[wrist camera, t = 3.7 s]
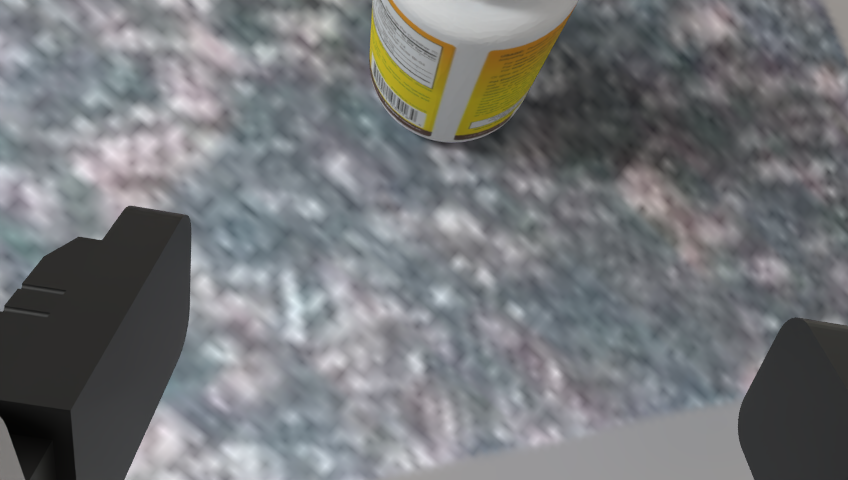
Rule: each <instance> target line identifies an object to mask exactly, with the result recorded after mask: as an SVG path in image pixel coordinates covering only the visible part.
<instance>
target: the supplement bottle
mask: <svg viewBox="0 0 848 480" xmlns="http://www.w3.org/2000/svg"><path fill="white" fill-rule="evenodd" d="M577 2H578V0H373V2H372V22H371V38H370V57H369V62H370V73H371V79H372V83H373V86H374V89H375V92H376V94H377V96H378V98H379V100H380V102H381V103H382V105H383V106H384V108H385V109H386V111H387V112H388V113H389V114H390V115H391V116H392V117H393V118H394V119H395V120H396V121H397V122H398V123H399V124H401V125H402V126H403V127H405V128H406V129H408V130H409V131H411V132H413V133H415V134H417V135H419V136H422V137H424V138H427V139H430V140H434V141H440V142H451V143H455V142H466V141H471V140H475V139H478V138H481V137H484V136H486V135H488V134H490V133H492V132H494V131H496V130H497V129H499V128H500V127H502V126H503V125H504V124H505V123H506V122H507V121H508V120H509V119H510V118H511V117H512V116H513V115H514V114H515V113H516V111H517V110H518V109H519V107H520V105H521V104H522V102H523V100H524V99H525V97H526V95H527V93H528V91H529V89H530V88H531V86H532V84H533V82H534V80H535V78H536V77H537V75H538V73H539V71H540V69H541V68H542V66H543V64H544V62H545V60H546V58H547V56H548V55H549V53H550V51H551V49H552V47H553V45H554V44H555V42H556V40H557V38H558V36H559V35H560V33H561V31H562V29H563V27H564V26H565V24H566V22H567V20H568V19H569V17H570V15H571V13H572V11H573V9H574V8H575V6H576V4H577Z"/></svg>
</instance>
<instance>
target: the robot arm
mask: <svg viewBox="0 0 848 480" xmlns="http://www.w3.org/2000/svg"><path fill="white" fill-rule="evenodd" d="M190 268H191V222H190V218H189V216H188V215H184V214H178V213H172V212H166V211H160V210H154V209H148V208H142V207H136V206H128V207H126V208H125V209H124V210H123V212H122V213H121V215H120V216H119V217H118V219H117V220H116V222H115V223H114V224H113V226H112V227H111V229H110V230H109V231H108V233H107V234H106V236H105V237H104V238H103V240H96V239H90V238H83V237H78V238H76V239H74V240H72V241H71V242H69V243H67V244H65V245H64V246H62V247H60V248H58V249H56V250H55V251H53V252H51V253H49V254H48V255H46V256H44V257H43V258H42V260H41V261H40V262H39V263H38V265H37V266H36V267H35V268H34V269H33V271H32V272H31V273H30V274H29V276H28V277H27V278H26V279H25V281H24V282H23V283H22V288H21V289H17V291H16V292H15V293H14V294H13V296H12V297H11V298H10V299H9V301H8V302H7V303H6V304H5V307H4V311H3V312H0V480H124V479H125V477H126V475H127V472H128V470H129V468H130V466H131V464H132V461H133V459H134V457H135V455H136V452H137V450H138V448H139V446H140V444H141V441H142V439H143V437H144V435H145V432H146V430H147V428H148V426H149V424H150V421H151V419H152V417H153V415H154V413H155V410H156V408H157V406H158V404H159V401H160V399H161V397H162V395H163V393H164V390H165V388H166V386H167V384H168V381H169V379H170V377H171V375H172V373H173V370H174V368H175V366H176V364H177V362H178V359H179V357H180V354H181V351H182V348H183V345H184V341H185V337H186V333H187V327H188V321H189V310H190ZM738 434H739V441H740V444H741V448H742V450H743V453H744V455H745V458H746V460H747V463H748V465H749V467H750V470H751V472H752V475H753V477H754V480H848V326H845V325H839V324H833V323H827V322H821V321H815V320H809V319H803V318H792V319H790V320H788V321H787V322H786V323H785V324H784V325H783V326H782V327H781V329H780V331H779V332H778V334H777V336H776V338H775V340H774V342H773V344H772V346H771V348H770V350H769V351H768V353H767V355H766V357H765V359H764V361H763V363H762V365H761V367H760V369H759V371H758V372H757V374H756V376H755V378H754V380H753V382H752V384H751V386H750V388H749V390H748V392H747V393H746V395H745V397H744V399H743V402H742V405H741V408H740V412H739V419H738Z"/></svg>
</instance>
